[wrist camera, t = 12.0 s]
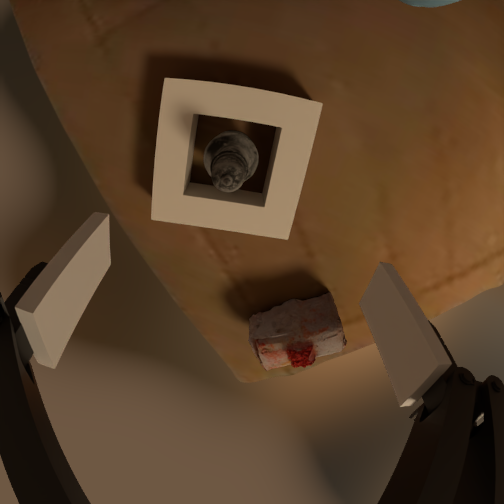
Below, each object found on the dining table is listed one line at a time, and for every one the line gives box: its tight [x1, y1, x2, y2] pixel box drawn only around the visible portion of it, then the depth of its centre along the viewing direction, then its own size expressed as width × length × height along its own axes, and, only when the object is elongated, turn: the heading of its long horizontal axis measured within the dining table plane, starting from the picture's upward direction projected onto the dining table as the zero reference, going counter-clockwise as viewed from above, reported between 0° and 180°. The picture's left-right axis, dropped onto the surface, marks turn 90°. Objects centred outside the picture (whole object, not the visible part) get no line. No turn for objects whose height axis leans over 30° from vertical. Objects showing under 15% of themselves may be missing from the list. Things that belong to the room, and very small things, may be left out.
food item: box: [248, 292, 347, 371], centre depth 43 cm, size 14×8×10 cm, turn 110°
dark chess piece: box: [204, 130, 259, 192], centre depth 29 cm, size 6×6×12 cm
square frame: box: [151, 78, 323, 240], centre depth 32 cm, size 16×16×4 cm
